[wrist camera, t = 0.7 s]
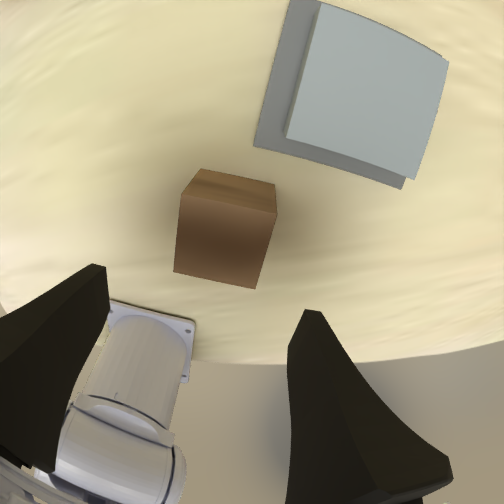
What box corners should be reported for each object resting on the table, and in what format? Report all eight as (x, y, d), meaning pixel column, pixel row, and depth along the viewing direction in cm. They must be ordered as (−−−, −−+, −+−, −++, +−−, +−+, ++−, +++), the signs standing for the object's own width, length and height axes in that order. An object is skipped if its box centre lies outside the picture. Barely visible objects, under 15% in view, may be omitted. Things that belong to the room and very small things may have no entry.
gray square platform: (389, 179, 17) (401, 189, 15) (254, 140, 16) (253, 146, 15) (426, 57, 13) (442, 55, 11) (289, 3, 12) (292, -7, 10)
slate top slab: (399, 169, 15) (414, 180, 13) (282, 132, 14) (286, 137, 12) (430, 62, 11) (448, 61, 10) (314, 13, 11) (321, 2, 9)
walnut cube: (257, 247, 20) (255, 289, 16) (191, 232, 19) (173, 271, 15) (274, 183, 17) (277, 214, 13) (201, 168, 17) (181, 194, 13)
